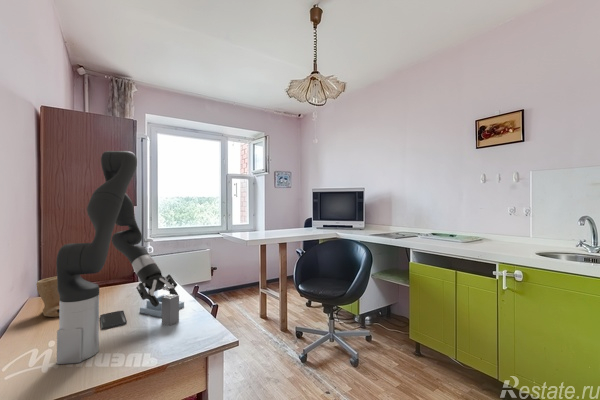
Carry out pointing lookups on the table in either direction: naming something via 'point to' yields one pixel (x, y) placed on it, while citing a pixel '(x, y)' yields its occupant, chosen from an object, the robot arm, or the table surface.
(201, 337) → the table surface
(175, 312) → the block
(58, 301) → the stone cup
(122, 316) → the phone
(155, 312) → the outlet box
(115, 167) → the robot arm
